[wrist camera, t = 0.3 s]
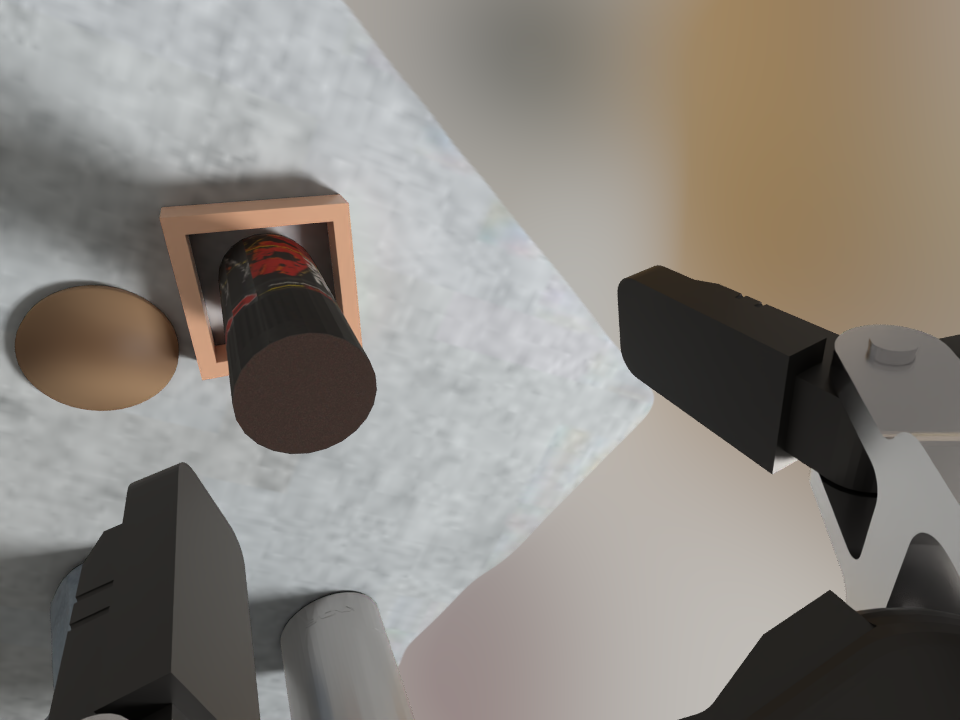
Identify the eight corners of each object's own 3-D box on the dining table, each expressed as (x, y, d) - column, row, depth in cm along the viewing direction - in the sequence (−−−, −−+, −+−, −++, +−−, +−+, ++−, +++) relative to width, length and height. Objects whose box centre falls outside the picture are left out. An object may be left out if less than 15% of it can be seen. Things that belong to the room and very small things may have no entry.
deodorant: (200, 296, 34) (204, 429, 22) (248, 215, 33) (279, 308, 21) (288, 335, 37) (332, 468, 26) (333, 263, 36) (401, 366, 25)
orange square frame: (354, 335, 39) (362, 350, 38) (201, 361, 36) (202, 380, 34) (339, 194, 35) (348, 202, 33) (161, 207, 31) (159, 218, 29)
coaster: (192, 390, 36) (192, 395, 36) (47, 418, 33) (44, 423, 33) (160, 276, 32) (159, 280, 32) (-8, 295, 30) (-11, 300, 29)
